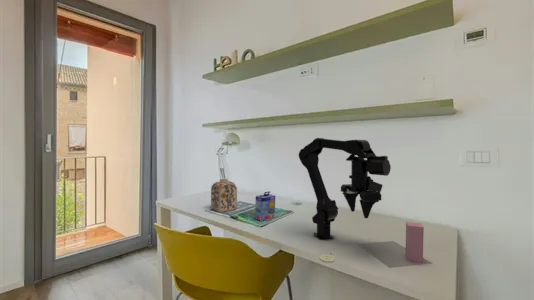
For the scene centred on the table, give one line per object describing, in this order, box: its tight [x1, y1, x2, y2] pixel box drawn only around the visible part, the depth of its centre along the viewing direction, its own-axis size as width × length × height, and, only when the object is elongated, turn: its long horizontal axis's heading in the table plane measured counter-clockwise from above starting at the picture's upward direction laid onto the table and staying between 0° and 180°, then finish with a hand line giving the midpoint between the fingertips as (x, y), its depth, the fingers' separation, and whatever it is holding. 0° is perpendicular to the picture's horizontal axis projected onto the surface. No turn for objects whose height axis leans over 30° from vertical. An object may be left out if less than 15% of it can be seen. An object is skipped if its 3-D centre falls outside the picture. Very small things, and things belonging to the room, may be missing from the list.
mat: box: [357, 240, 432, 268], centre depth 91 cm, size 19×16×1 cm
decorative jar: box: [210, 178, 238, 213], centre depth 150 cm, size 12×12×18 cm
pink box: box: [405, 221, 425, 263], centre depth 85 cm, size 5×4×12 cm
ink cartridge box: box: [254, 191, 276, 222], centre depth 132 cm, size 10×6×14 cm, turn 132°
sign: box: [319, 247, 336, 264], centre depth 91 cm, size 5×1×15 cm
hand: (359, 214), depth 94 cm, fingers open, 9 cm apart
